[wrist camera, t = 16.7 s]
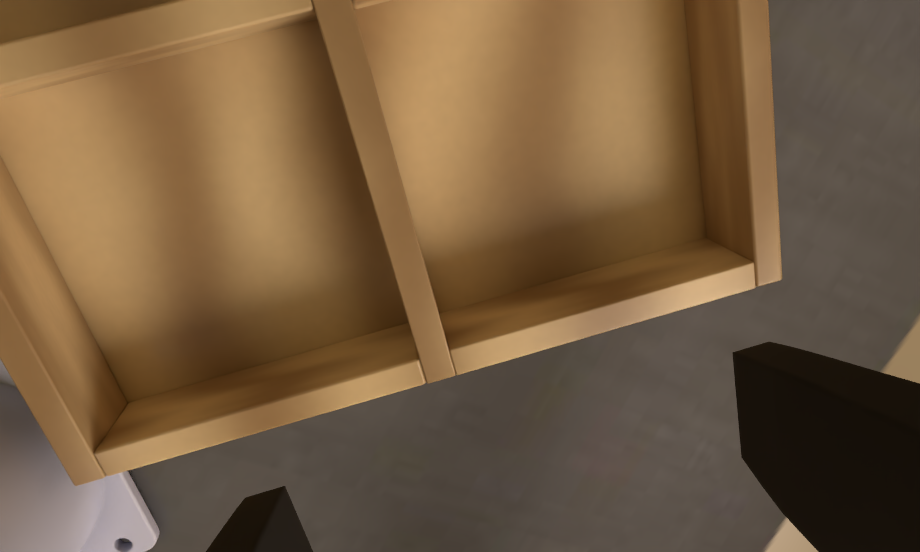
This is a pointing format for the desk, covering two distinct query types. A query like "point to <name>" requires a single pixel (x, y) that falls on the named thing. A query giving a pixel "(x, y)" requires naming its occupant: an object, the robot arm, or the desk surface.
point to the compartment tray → (356, 198)
